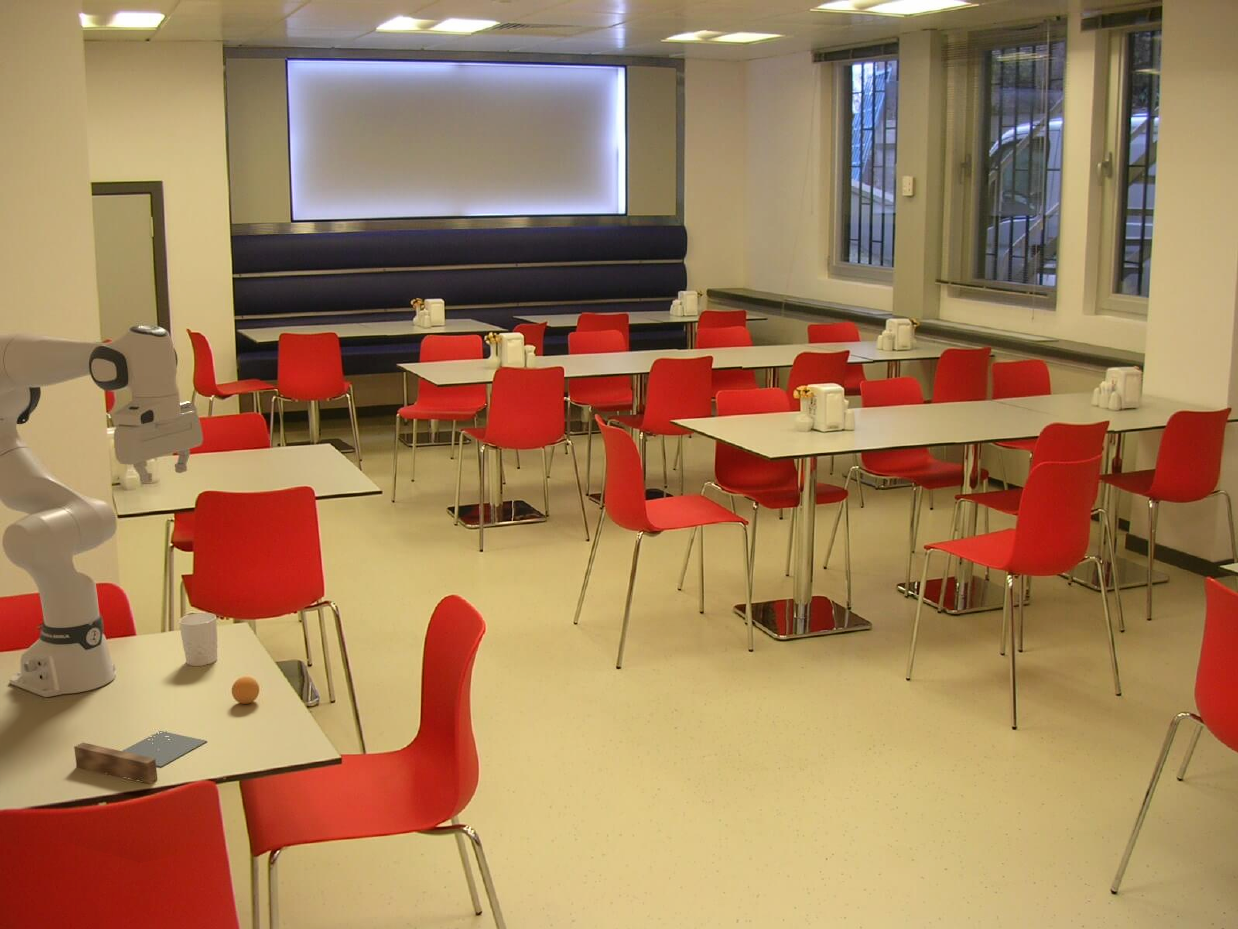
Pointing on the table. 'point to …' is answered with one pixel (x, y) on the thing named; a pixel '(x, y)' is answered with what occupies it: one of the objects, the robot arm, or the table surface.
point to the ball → (245, 690)
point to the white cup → (199, 638)
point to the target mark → (164, 747)
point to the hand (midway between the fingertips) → (164, 477)
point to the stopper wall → (115, 762)
